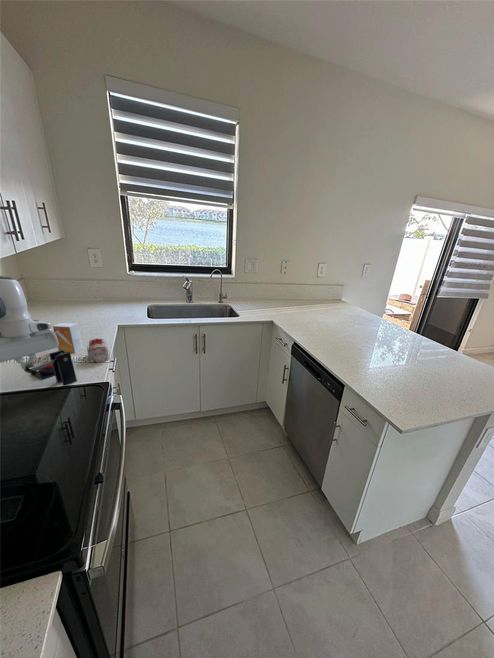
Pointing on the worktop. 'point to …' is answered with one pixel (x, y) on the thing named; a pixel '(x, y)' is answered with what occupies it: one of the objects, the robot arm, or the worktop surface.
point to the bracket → (63, 368)
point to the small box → (68, 337)
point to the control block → (44, 373)
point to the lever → (41, 366)
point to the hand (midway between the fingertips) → (28, 367)
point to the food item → (97, 350)
